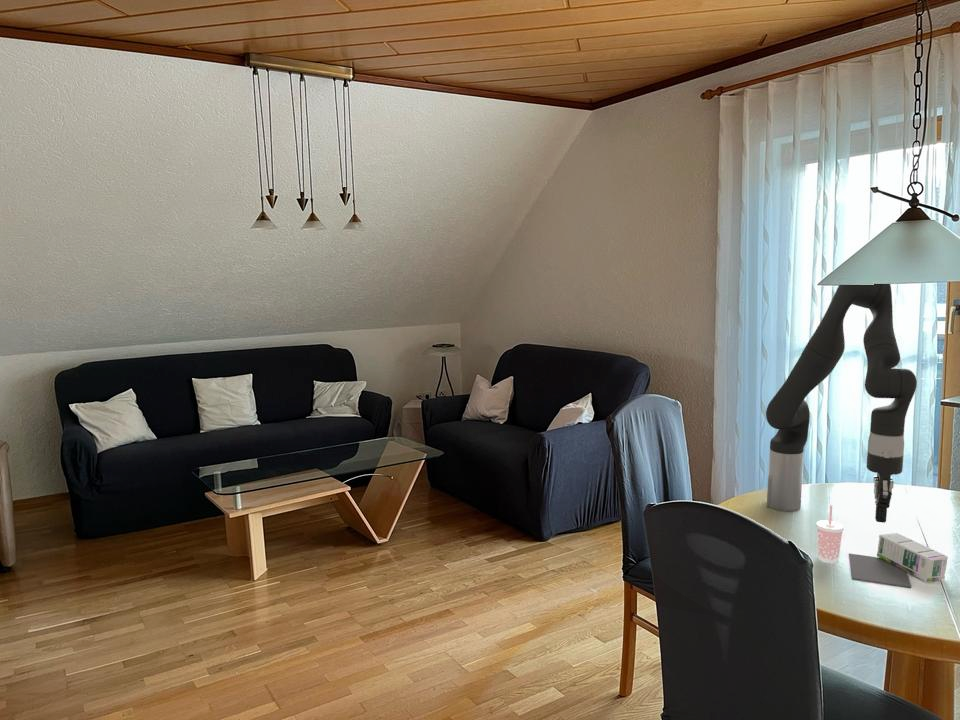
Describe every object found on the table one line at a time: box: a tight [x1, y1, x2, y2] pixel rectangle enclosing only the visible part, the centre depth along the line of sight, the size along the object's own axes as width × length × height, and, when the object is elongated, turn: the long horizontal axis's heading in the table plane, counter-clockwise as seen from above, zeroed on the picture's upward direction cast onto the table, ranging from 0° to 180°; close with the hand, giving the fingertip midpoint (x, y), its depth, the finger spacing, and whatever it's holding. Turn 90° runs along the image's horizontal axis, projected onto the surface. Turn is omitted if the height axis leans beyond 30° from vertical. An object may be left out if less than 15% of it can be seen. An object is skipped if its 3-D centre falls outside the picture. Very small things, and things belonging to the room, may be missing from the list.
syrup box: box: [876, 532, 949, 583], centre depth 176 cm, size 6×6×14 cm
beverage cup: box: [816, 504, 845, 564], centre depth 181 cm, size 6×6×14 cm
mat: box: [848, 553, 912, 589], centre depth 176 cm, size 12×15×1 cm
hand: (880, 521), depth 177 cm, fingers closed
